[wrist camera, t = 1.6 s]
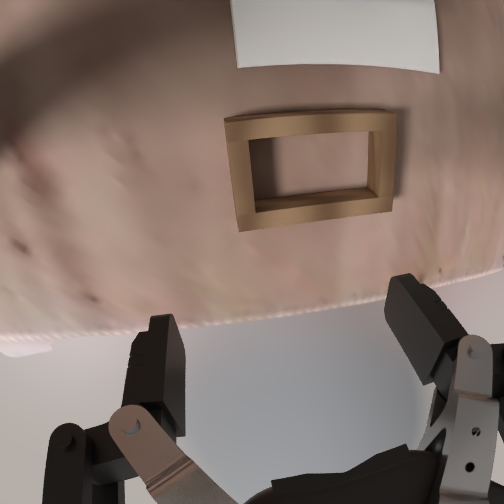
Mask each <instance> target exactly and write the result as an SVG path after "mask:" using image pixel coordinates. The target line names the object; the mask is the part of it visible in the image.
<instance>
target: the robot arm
mask: <svg viewBox="0 0 504 504" xmlns="http://www.w3.org/2000/svg"><path fill="white" fill-rule="evenodd" d="M384 312H385V318H386V321H387V323H388V325H389V327H390V328H391V330H392V332H393V333H394V335H395V337H396V338H397V340H398V342H399V343H400V345H401V347H402V348H403V350H404V352H405V353H406V355H407V357H408V359H409V360H410V362H411V364H412V366H413V367H414V369H415V371H416V373H417V375H418V376H419V378H420V380H421V382H422V384H423V385H426V384H429V383H432V382H434V383H435V385H436V387H435V390H434V393H433V398H432V403H431V408H430V413H429V417H428V421H427V426H426V429H425V433H424V435H423V437H422V439H421V441H420V443H419V446H418V448H417V450H408V447H407V445H406V444H403V445H401V446H398V447H396V448H393V449H390V450H387V451H385V452H382V453H379V454H376V455H374V456H373V457H371V458H369V459H368V460H366V461H364V462H363V463H361V464H359V465H358V466H356V467H354V468H352V469H351V470H349V471H347V472H344V473H326V474H302V475H298V476H293V477H287V478H282V479H276V480H272V481H271V483H272V487H270V488H267V489H265V490H263V491H261V492H259V493H257V494H256V495H254V496H253V497H251V498H250V499H249V500H248V501H246V502H245V503H244V504H504V486H502V485H500V484H498V483H496V482H494V481H491V474H492V469H493V462H494V455H495V449H496V440H497V431H499V433H500V435H501V437H502V440H503V442H504V343H503V344H489V343H488V342H487V341H486V340H485V339H484V338H482V337H480V336H477V335H469V334H467V332H466V331H465V329H464V328H463V327H462V325H461V324H460V323H459V321H458V320H457V319H456V317H455V316H454V315H453V314H452V312H451V311H450V310H449V309H447V306H446V305H445V304H444V302H443V301H441V298H440V297H439V296H438V295H437V294H436V292H435V291H434V290H432V289H431V288H429V287H428V286H426V285H425V284H420V283H419V282H418V281H417V280H416V278H415V277H414V276H413V275H412V274H410V273H408V274H403V275H398V276H394V277H392V278H391V279H390V282H389V288H388V293H387V297H386V302H385V308H384ZM185 361H186V358H185V349H184V344H183V341H182V338H181V336H180V333H179V330H178V327H177V324H176V322H175V319H174V316H173V314H164V315H156V316H151V318H150V323H149V329H148V331H145V332H139V333H138V335H137V336H136V338H135V339H134V341H133V342H132V345H131V352H130V358H129V363H128V368H127V374H126V380H125V386H124V393H123V400H122V405H121V408H120V409H118V410H117V411H116V412H115V413H114V414H113V415H112V416H111V418H110V421H109V422H107V423H105V424H102V425H99V426H96V427H92V428H89V429H85V430H83V429H82V428H81V427H79V426H78V425H76V424H73V423H65V424H62V425H60V426H58V427H57V428H56V429H55V430H54V431H53V433H52V434H51V436H50V440H49V446H48V452H47V460H46V468H45V477H44V487H43V499H42V500H43V501H42V504H125V491H124V490H125V489H124V480H127V479H131V478H134V477H138V476H140V478H141V479H142V480H143V481H144V483H145V484H146V486H147V487H146V488H147V490H148V492H149V493H150V495H151V496H152V497H153V499H154V500H155V501H156V502H157V503H158V504H238V503H237V502H236V501H235V500H233V499H232V498H231V497H230V496H229V495H228V494H227V493H226V492H225V491H224V490H222V489H221V488H220V487H219V486H218V485H217V484H216V483H215V482H214V481H213V480H212V479H211V478H210V477H209V476H208V475H207V474H206V473H205V472H204V471H203V470H202V469H201V468H199V466H198V465H197V464H196V463H195V462H194V461H193V460H191V459H190V458H189V457H188V456H187V455H186V454H185V453H184V452H183V451H182V450H181V449H180V448H179V447H178V446H177V445H176V437H183V436H185V363H186V362H185Z"/></svg>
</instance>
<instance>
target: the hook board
mask: <svg viewBox="0 0 504 504" xmlns="http://www.w3.org/2000/svg"><path fill="white" fill-rule="evenodd" d="M230 7H231V16H232V25H233V34H234V43H235V52H236V61H237V68H247V67H259V66H274V65H298V64H339V65H362V66H377V67H389V68H398V69H407V70H415V71H422V72H429V73H437V74H439V48H438V33H437V22H436V12H435V4H434V0H230Z"/></svg>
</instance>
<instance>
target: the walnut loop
mask: <svg viewBox="0 0 504 504" xmlns="http://www.w3.org/2000/svg"><path fill="white" fill-rule="evenodd" d="M397 123H398V114H396V113H393V112H389V111H386V110H377V109H343V110H313V111H295V112H281V113H269V114H259V115H249V116H240V117H232V118H225V119H224V125H225V133H226V141H227V149H228V157H229V165H230V173H231V181H232V188H233V196H234V204H235V212H236V219H237V224H238V229H239V232H243V231H250V230H257V229H264V228H271V227H278V226H285V225H292V224H299V223H306V222H314V221H321V220H329V219H336V218H344V217H351V216H359V215H367V214H375V213H383V212H391V211H392V204H393V194H394V182H395V169H396V151H397ZM364 131H369V147H368V179H367V188H359V189H349V190H339V191H330V192H321V193H312V194H304V195H295V196H287V197H279V198H272V199H264V200H257V201H254V192H253V182H252V172H251V163H250V153H249V143H248V140H252V139H261V138H270V137H280V136H291V135H304V134H318V133H336V132H364Z"/></svg>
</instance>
